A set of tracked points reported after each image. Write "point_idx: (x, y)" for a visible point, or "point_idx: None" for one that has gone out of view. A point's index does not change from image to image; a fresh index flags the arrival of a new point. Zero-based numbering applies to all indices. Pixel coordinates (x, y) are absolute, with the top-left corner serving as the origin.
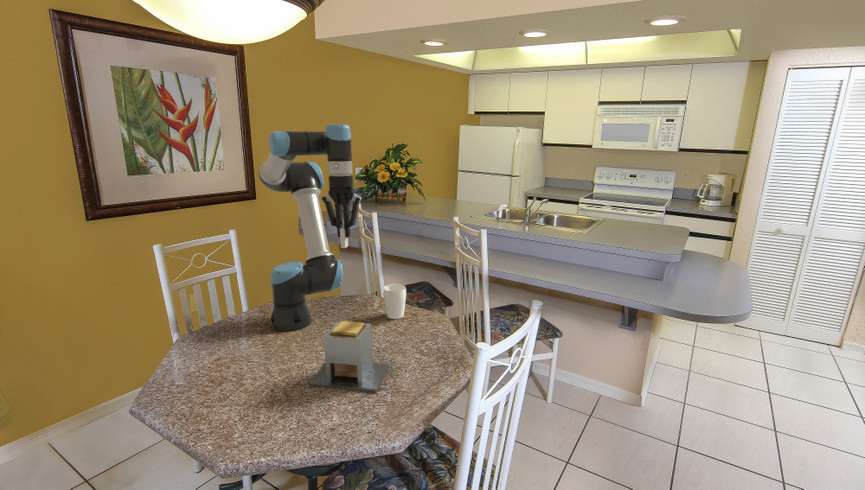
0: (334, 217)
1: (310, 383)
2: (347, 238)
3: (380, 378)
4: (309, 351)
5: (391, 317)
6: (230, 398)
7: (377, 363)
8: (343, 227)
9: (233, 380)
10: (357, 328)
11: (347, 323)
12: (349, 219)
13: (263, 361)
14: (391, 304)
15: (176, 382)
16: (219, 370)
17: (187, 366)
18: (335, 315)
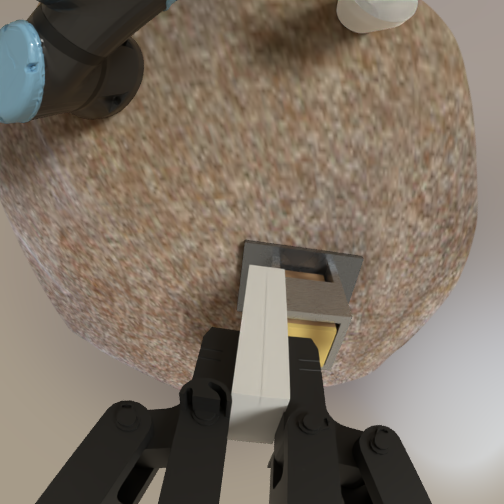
0: (109, 491)
1: (239, 310)
2: (285, 315)
3: (347, 298)
4: (192, 199)
5: (352, 30)
6: (145, 326)
7: (342, 256)
8: (269, 462)
9: (120, 290)
10: (325, 353)
11: (300, 336)
12: (334, 497)
13: (127, 239)
14: (365, 27)
15: (62, 290)
16: (85, 265)
17: (44, 254)
18: (191, 12)
